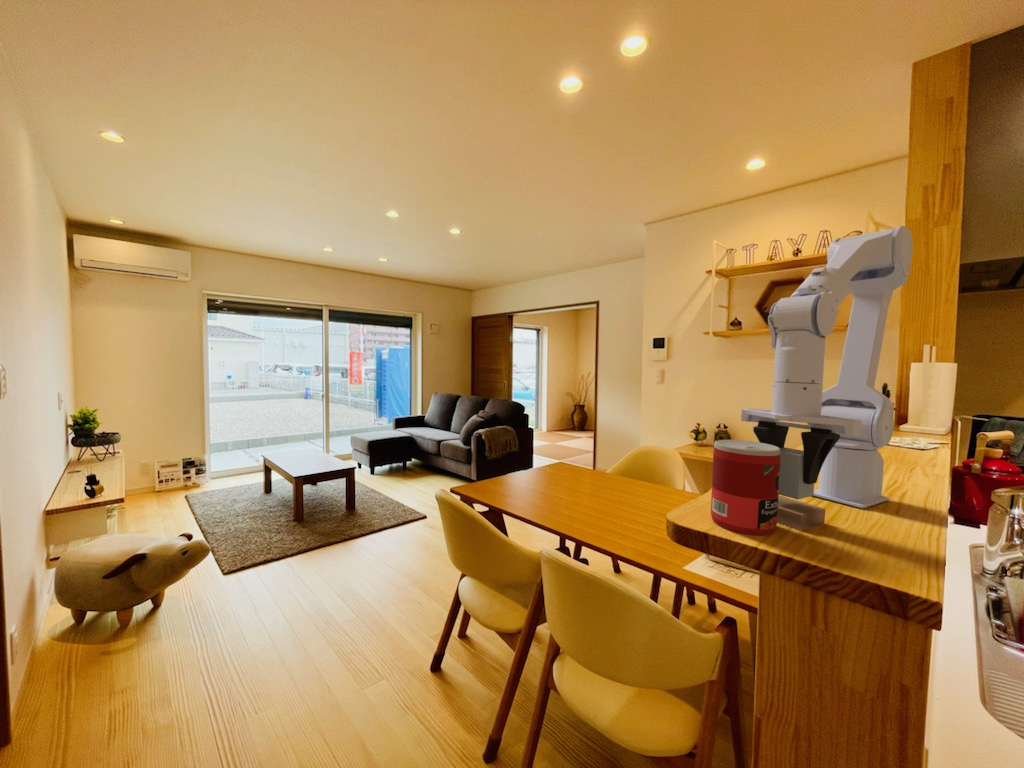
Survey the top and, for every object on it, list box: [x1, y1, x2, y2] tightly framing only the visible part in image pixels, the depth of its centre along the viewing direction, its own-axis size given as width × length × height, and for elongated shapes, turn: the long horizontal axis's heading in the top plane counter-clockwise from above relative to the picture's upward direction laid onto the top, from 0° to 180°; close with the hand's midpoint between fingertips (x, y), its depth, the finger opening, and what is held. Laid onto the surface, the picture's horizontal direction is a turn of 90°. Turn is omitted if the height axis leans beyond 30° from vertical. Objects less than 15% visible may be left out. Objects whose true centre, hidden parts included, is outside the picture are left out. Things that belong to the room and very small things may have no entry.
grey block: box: [778, 447, 815, 501], centre depth 60 cm, size 4×4×6 cm
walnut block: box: [777, 495, 826, 532], centre depth 60 cm, size 6×6×2 cm
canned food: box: [710, 439, 781, 536], centre depth 58 cm, size 8×8×11 cm
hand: (791, 478), depth 60 cm, fingers closed on grey block, 4 cm apart
